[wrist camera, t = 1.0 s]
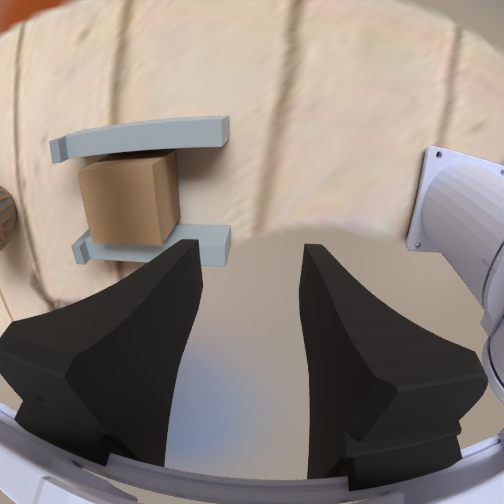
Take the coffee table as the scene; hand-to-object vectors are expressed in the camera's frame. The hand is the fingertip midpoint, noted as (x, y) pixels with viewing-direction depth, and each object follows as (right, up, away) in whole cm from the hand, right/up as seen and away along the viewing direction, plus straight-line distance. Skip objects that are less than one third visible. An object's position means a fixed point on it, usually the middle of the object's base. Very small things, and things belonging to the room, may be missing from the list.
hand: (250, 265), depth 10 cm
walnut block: (-7, +5, +8) cm, 12 cm away
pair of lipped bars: (-7, +5, +8) cm, 12 cm away
